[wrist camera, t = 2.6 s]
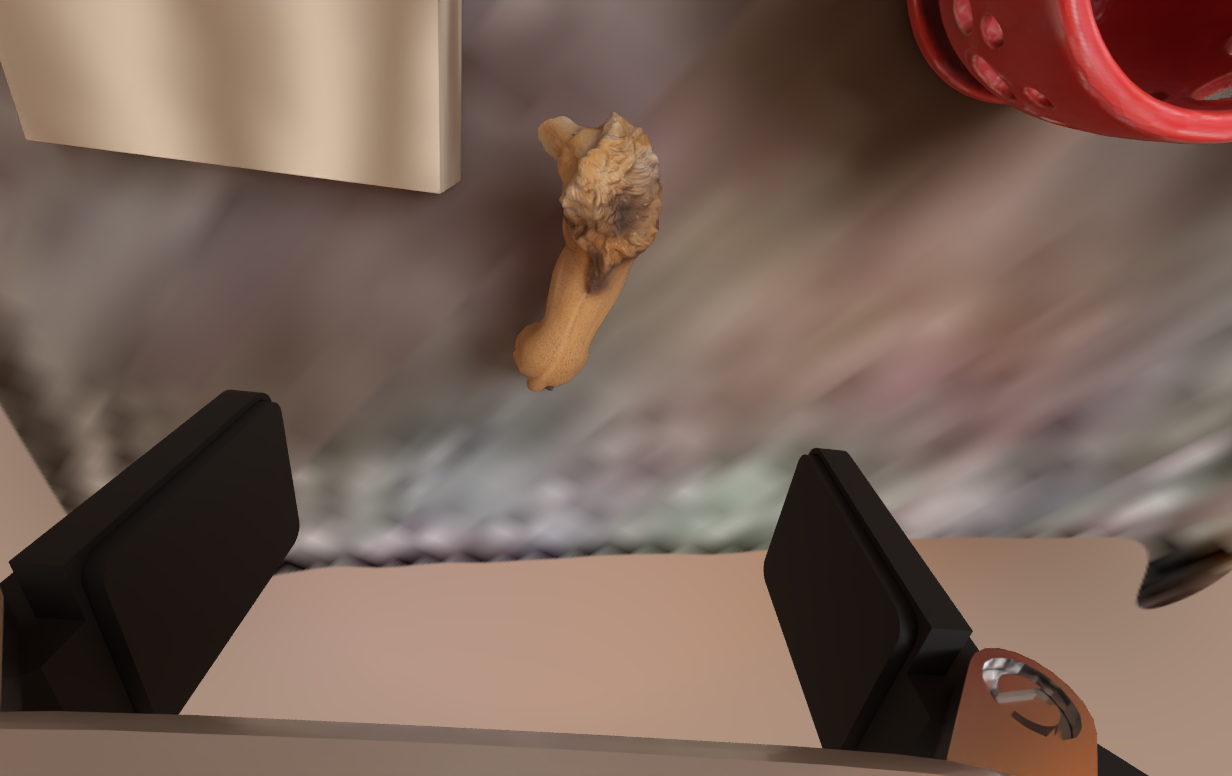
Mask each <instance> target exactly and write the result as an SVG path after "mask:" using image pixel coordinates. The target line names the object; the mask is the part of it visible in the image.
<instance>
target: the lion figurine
mask: <svg viewBox="0 0 1232 776" xmlns="http://www.w3.org/2000/svg"><path fill="white" fill-rule="evenodd" d="M538 137H539V140H540V141H541V142H542V146H543V148H544V149H545V151H546V152H547V153H548V154H550V155H551V156H552V157H554V158H555V159H556V160H557V161H558V172H559V175H560V177H561V179H562V181H563V189H562V194H561V196H560V198H559V201H560V203H561V204H562V207H563V224H562V226H563V235H564V239H565V242H566V245H565V247H564V248H563V250H562V252H561V254H560V255H559V258H558V260H557V263H556V265H555V268H554V271H553V274H552V278H551V283H550V288H549V293H548V298H547V304H546V313H545V316H544V318H543V319H542V320H541V321H540V322H536V323H531V324H529V325H527V326H526V327H525V328H524V329H523V330H522V331H521V332H520V333H519V334H518V335H517V336H516V339H515V351H514V352H513V358H514V361H515V363H516V364H517V366H518V369H519V371H520V372H521V373H522V374H523V375H525V376H528V381H527V386H528V388H529V389H530V390H531V391H540V390H542V389H543V388H546V389H547V390H550V391H553V386H559V385H562V384H565V383H567V382H568V381H570V380H571V379H572V378H573V377H574V376H575V375H576V374H577V373H578V372H579V371H580V370H581V369H582V367H583V366H584V364H585V362H586V360H587V358H588V354H589V345H590V342H591V340H592V338H593V336H594V335H595V333H596V331H597V329H598V328H599V326H600V325H601V323H602V321H603V320H604V318H605V317H606V315H607V313H608V312H609V310H610V308H611V307H612V305H613V304H614V302H615V301H616V299H617V297H618V295H619V293H620V291H621V289H622V287H623V284H624V282H625V280H626V277H627V274H628V271H629V267H630V264H631V263H632V262H633V261H634V260H635V259H636V258H637V256H638V255H639V254H641V253H642V252H644V251H645V250H646V249H647V248H648V247H649V246H650V245H651V244H652V243H653V241H654V239H655V235H656V233H658V231H659V228H658V226H659V212H660V211H661V210H662V207H663V203H662V200H661V192H662V185H661V183H660V179H661V176H660V172H659V159H658V158H657V156H656V155H654V154H653V153H652V148H651V145H650V142H649V139H648V137H647V136H646V135H645V134H644V133H643V130H642V128H641V127H640V128H635V127H633V126H632V125H631V124H629V123H628V122H627V121H626V120H625V119H624V118H623V117H621V116H619V115H618V114H617V113H615V112H612V114H611V117H610V118H608V119H607V120H606V121H605V122H604V123H603V124H601V125H600V126H599V127H598V128H590V127H581V126H578V125H577V124H575V123H574V122H573V121H572V120H570V119H569V118H567V117H564V116H561V117H556V118H554V119H547V120H546V121H545V122H543V123H542V124H541V125H540V127H539V129H538Z"/></svg>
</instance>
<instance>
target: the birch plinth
mask: <svg viewBox="0 0 1232 776" xmlns="http://www.w3.org/2000/svg"><path fill="white" fill-rule="evenodd" d="M0 61H1V64H2V67H3V70H4V73H5V76H6V79H7V82H8V85H9V88H10V91H11V95H12V98H13V101H14V104H15V107H16V110H17V113H18V116H19V119H20V122H21V125H22V129H23V132H24V135H25V138H26V140H33V141H40V142H48V143H56V144H63V145H71V146H78V147H86V148H94V149H101V150H109V151H117V152H124V153H132V154H140V155H147V156H155V157H163V158H170V159H178V160H186V161H193V162H201V163H209V164H216V165H224V166H232V167H239V168H247V169H255V170H262V171H270V172H278V173H285V174H293V175H300V176H308V177H316V178H323V179H331V180H339V181H346V182H354V183H362V184H369V185H377V186H385V187H392V188H400V189H408V190H415V191H423V192H431V193H438V194H441V193H442V192H444V191H445V190H447V189H448V188H450V187H452V186H453V185H455V184H456V183H458V182H460V181H461V70H462V0H0Z"/></svg>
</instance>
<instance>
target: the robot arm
mask: <svg viewBox="0 0 1232 776" xmlns="http://www.w3.org/2000/svg"><path fill="white" fill-rule="evenodd" d="M298 532H299V517H298V511H297V505H296V499H295V492H294V486H293V480H292V474H291V467H290V461H289V455H288V449H287V443H286V436H285V430H284V424H283V418H282V412H281V408H280V406H279V404H277V403H275V402H271V399H270V397H269V396H268V395H267V394H265V393H258V392H248V391H238V390H226V391H225V392H223V393H221V394H220V395H219V396H218V397H216V398H215V399H214V400H212V401H211V402H210V403H209V404H207V405H206V406H205V407H204V408H202V409H201V410H200V411H199V412H197V413H196V414H195V415H193V416H192V417H191V418H190V419H188V420H187V421H186V422H185V423H183V424H182V425H181V426H180V427H178V428H177V429H176V430H175V431H173V432H172V433H171V434H169V435H168V436H167V437H166V438H164V439H163V440H162V441H161V442H159V443H158V444H157V445H156V446H154V447H153V448H152V449H150V450H149V451H148V452H147V453H145V454H144V455H143V456H142V457H140V458H139V459H138V460H137V461H135V462H134V463H133V464H131V465H130V466H129V467H128V468H126V469H125V470H124V471H123V472H121V473H120V474H119V475H118V476H116V477H115V478H114V479H113V480H111V481H110V482H109V483H107V484H106V485H105V486H104V487H102V488H101V489H100V490H99V491H97V492H96V493H95V494H94V495H92V496H91V497H90V498H88V499H87V500H86V501H85V502H83V503H82V504H81V505H80V506H78V507H77V508H76V509H75V510H73V511H72V512H71V513H69V514H68V515H67V516H66V517H64V518H63V519H62V520H61V521H59V522H58V523H57V524H56V525H54V526H53V527H52V528H51V529H49V530H48V531H47V532H46V533H44V534H43V535H42V536H40V537H39V538H38V539H37V540H35V541H34V542H33V543H32V544H31V545H29V546H28V547H26V548H25V549H24V550H23V551H21V552H20V553H19V554H18V555H16V556H15V557H14V558H13V559H11V560H10V561H9V564H10V566H11V568H12V570H13V573H12V574H11V575H10V576H8V577H7V578H6V579H5V580H3V581H2V582H1V583H0V776H1148V775H1146V774H1145V773H1143V772H1142V771H1140V770H1138V769H1137V768H1135V767H1134V766H1132V765H1130V764H1129V763H1127V762H1126V761H1124V760H1123V759H1121V758H1119V757H1118V756H1116V755H1115V754H1113V753H1111V752H1110V751H1108V750H1107V749H1105V748H1103V747H1102V746H1100V745H1099V744H1097V732H1096V728H1095V724H1094V720H1093V718H1092V716H1091V714H1090V713H1089V711H1088V709H1087V707H1086V706H1085V704H1084V703H1083V701H1082V700H1081V699H1080V698H1079V697H1078V696H1077V695H1076V693H1075V692H1074V691H1073V690H1072V689H1071V688H1070V687H1069V686H1068V685H1067V684H1066V683H1065V682H1063V681H1062V680H1061V679H1060V678H1059V677H1058V676H1056V675H1055V674H1054V673H1053V672H1051V671H1050V670H1048V669H1047V668H1045V667H1043V666H1042V665H1040V664H1039V663H1037V662H1035V661H1034V660H1032V659H1029V658H1027V657H1025V656H1023V655H1021V654H1018V653H1016V652H1012V651H1008V650H1004V649H1000V648H986V649H983V650H981V651H979V650H978V648H977V647H976V646H975V644H974V643H973V641H972V640H971V638H970V635H971V633H972V632H973V631H972V629H971V628H970V626H969V625H968V623H967V622H966V621H965V619H964V618H963V616H962V615H961V613H960V612H959V611H958V609H957V608H956V606H955V605H954V603H953V602H952V601H951V600H950V598H949V596H948V595H947V593H946V592H945V591H944V589H943V588H942V586H941V585H940V583H939V582H938V581H937V579H936V578H935V576H934V575H933V573H932V572H931V571H930V569H929V568H928V566H927V565H926V563H925V562H924V561H923V559H922V558H921V556H920V555H919V554H918V552H917V551H916V549H915V548H914V546H913V545H912V544H911V542H910V541H909V539H908V538H907V536H906V535H905V533H904V532H903V531H902V529H901V528H900V526H899V525H898V523H897V522H896V521H895V519H894V518H893V516H892V515H891V513H890V512H889V511H888V509H887V508H886V506H885V505H884V503H883V502H882V501H881V499H880V498H879V496H878V495H877V493H876V492H875V491H874V489H873V488H872V486H871V485H870V483H869V482H868V481H867V479H866V478H865V476H864V475H863V473H862V472H861V471H860V469H859V468H858V466H857V465H856V463H855V462H854V461H853V459H852V458H851V456H850V455H849V454H848V453H847V452H846V451H841V450H831V449H821V448H814V449H812V450H811V451H810V453H809V455H802V456H801V457H800V459H799V461H798V464H797V467H796V470H795V473H794V476H793V479H792V482H791V485H790V488H789V491H788V493H787V496H786V499H785V502H784V505H783V508H782V511H781V514H780V517H779V520H778V523H777V526H776V529H775V532H774V534H773V537H772V540H771V543H770V546H769V549H768V552H767V555H766V558H765V561H764V578H765V582H766V585H767V588H768V591H769V594H770V597H771V600H772V603H773V606H774V608H775V611H776V614H777V617H778V620H779V623H780V626H781V629H782V632H783V634H784V637H785V640H786V643H787V646H788V649H789V652H790V655H791V658H792V661H793V663H794V667H795V669H796V672H797V675H798V678H799V681H800V684H801V687H802V690H803V693H804V695H805V699H806V701H807V704H808V707H809V710H810V713H811V716H812V719H813V722H814V725H815V728H816V731H817V733H818V736H819V739H820V742H821V745H822V748H809V747H797V746H782V745H764V744H763V745H762V744H747V743H730V742H728V743H727V742H712V741H694V740H677V739H660V738H641V737H624V736H607V735H587V734H569V733H550V732H531V731H511V730H493V729H473V728H453V727H434V726H433V727H432V726H414V725H413V726H412V725H394V724H373V723H351V722H330V721H329V722H328V721H308V720H307V721H306V720H286V719H264V718H242V717H221V716H199V715H178V714H179V713H180V712H181V710H182V709H183V707H184V706H185V704H186V703H187V701H188V700H189V698H190V697H191V695H192V694H193V692H194V691H195V690H196V688H197V686H198V685H199V683H200V682H201V681H202V679H203V678H204V676H205V675H206V673H207V672H208V670H209V669H210V667H211V666H212V664H213V663H214V662H215V660H216V659H217V657H218V656H219V654H220V653H221V651H222V650H223V648H224V647H225V645H226V644H227V642H228V641H229V639H230V638H231V636H232V635H233V633H234V632H235V630H236V629H237V627H238V626H239V625H240V623H241V622H242V620H243V619H244V617H245V616H246V614H247V613H248V611H249V610H250V608H251V607H252V605H253V604H254V603H255V601H256V599H257V598H258V596H259V595H260V593H261V592H262V591H263V589H264V588H265V586H266V585H267V583H268V582H269V580H270V579H271V577H272V576H273V574H274V573H275V572H276V570H277V569H278V567H279V566H280V564H281V563H282V561H283V560H284V558H285V557H286V555H287V554H288V552H289V551H290V549H291V548H292V546H293V545H294V543H295V541H296V539H297V536H298Z"/></svg>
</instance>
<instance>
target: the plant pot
mask: <svg viewBox="0 0 1232 776" xmlns="http://www.w3.org/2000/svg"><path fill="white" fill-rule="evenodd" d="M907 7H908V13H909V18H910V23H911V27H912V31H913V34H914V37H915V40H916V42H917V44H918V46H919V49H920V51H921V53H922V54H923V56H924V58H925V60H926V61H927V63H928V64H929V65H930V66H931V68H932V69H933V70H934V71H935V73H936V74H937V75H938V76H939V77H940V78H941V79H942V80H944V81H945V82H946V83H947V84H948V85H949V86H951V87H952V88H954V89H955V90H957V91H959V92H961V93H962V94H964V95H966V96H969V97H971V98H974V99H977V100H980V101H984V102H989V103H996V104H1004V105H1005V104H1009V105H1011V106H1013V107H1015V108H1017V109H1018V110H1020V111H1022V112H1024V113H1026V114H1029V115H1031V116H1034V117H1036V118H1039V119H1041V120H1044V121H1047V122H1050V123H1053V124H1057V125H1060V126H1064V127H1068V128H1072V129H1076V130H1081V131H1085V132H1090V133H1094V134H1098V135H1104V136H1109V137H1118V138H1126V139H1135V140H1143V141H1156V142H1169V143H1180V144H1220V143H1228V142H1232V97H1231V98H1223V99H1219V100H1202V99H1204V98H1206V97H1208V96H1210V95H1212V94H1214V93H1217V92H1219V91H1221V90H1224V89H1227V88H1230V87H1232V55H1229V54H1230V53H1231V52H1232V0H907Z"/></svg>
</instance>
